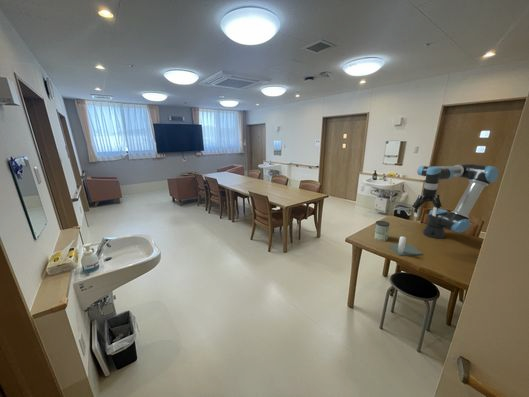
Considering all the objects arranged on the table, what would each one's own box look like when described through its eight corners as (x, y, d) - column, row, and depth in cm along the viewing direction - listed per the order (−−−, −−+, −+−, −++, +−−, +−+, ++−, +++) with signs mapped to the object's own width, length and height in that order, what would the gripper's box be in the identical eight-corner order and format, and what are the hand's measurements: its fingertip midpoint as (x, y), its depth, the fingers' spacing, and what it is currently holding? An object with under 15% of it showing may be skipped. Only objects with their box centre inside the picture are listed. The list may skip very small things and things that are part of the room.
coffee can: (372, 234, 189) (374, 220, 185) (385, 235, 186) (387, 221, 182) (375, 240, 179) (377, 224, 175) (388, 241, 177) (391, 225, 173)
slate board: (409, 245, 170) (409, 243, 169) (422, 254, 156) (422, 253, 156) (388, 246, 169) (388, 244, 169) (399, 255, 156) (399, 254, 156)
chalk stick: (401, 250, 160) (403, 236, 157) (404, 253, 157) (407, 238, 153) (396, 250, 160) (398, 236, 157) (399, 253, 157) (402, 238, 153)
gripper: (442, 186, 156) (437, 213, 162) (409, 188, 155) (405, 215, 162) (451, 189, 149) (445, 217, 155) (416, 190, 148) (411, 218, 154)
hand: (424, 216), depth 158 cm, fingers open, 13 cm apart
